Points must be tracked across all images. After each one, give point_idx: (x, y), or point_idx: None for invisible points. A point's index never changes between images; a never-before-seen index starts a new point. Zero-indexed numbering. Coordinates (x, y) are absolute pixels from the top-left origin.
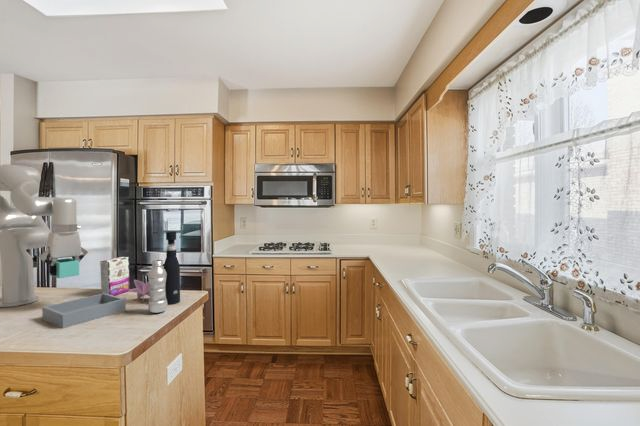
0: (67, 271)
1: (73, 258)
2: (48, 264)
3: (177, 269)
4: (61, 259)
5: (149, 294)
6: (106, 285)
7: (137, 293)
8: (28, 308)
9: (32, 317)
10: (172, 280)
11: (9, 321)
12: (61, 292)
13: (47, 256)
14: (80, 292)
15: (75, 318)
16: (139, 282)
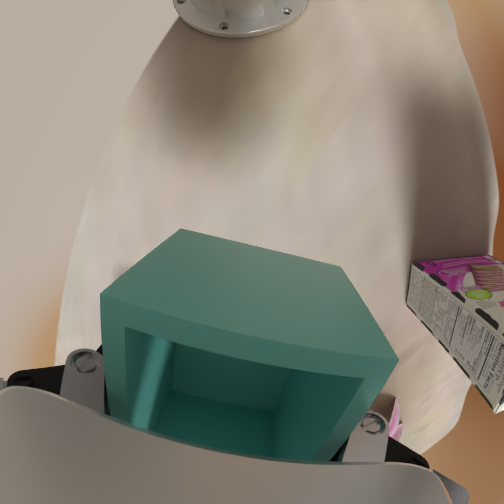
0: (202, 429)
1: (343, 455)
2: (75, 367)
3: None
4: (266, 360)
5: (394, 434)
6: (431, 315)
7: (390, 420)
8: (194, 105)
9: (133, 254)
10: None
11: (88, 220)
12: (403, 16)
13: (14, 396)
14: (436, 95)
15: None
16: None
